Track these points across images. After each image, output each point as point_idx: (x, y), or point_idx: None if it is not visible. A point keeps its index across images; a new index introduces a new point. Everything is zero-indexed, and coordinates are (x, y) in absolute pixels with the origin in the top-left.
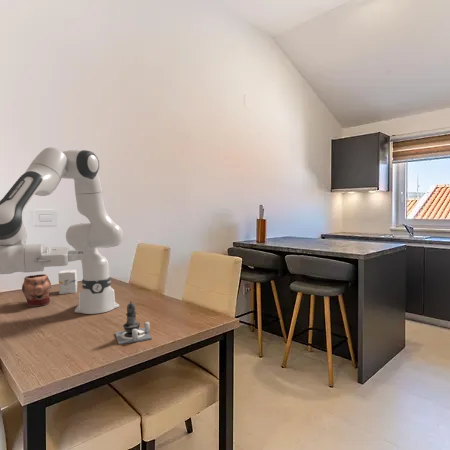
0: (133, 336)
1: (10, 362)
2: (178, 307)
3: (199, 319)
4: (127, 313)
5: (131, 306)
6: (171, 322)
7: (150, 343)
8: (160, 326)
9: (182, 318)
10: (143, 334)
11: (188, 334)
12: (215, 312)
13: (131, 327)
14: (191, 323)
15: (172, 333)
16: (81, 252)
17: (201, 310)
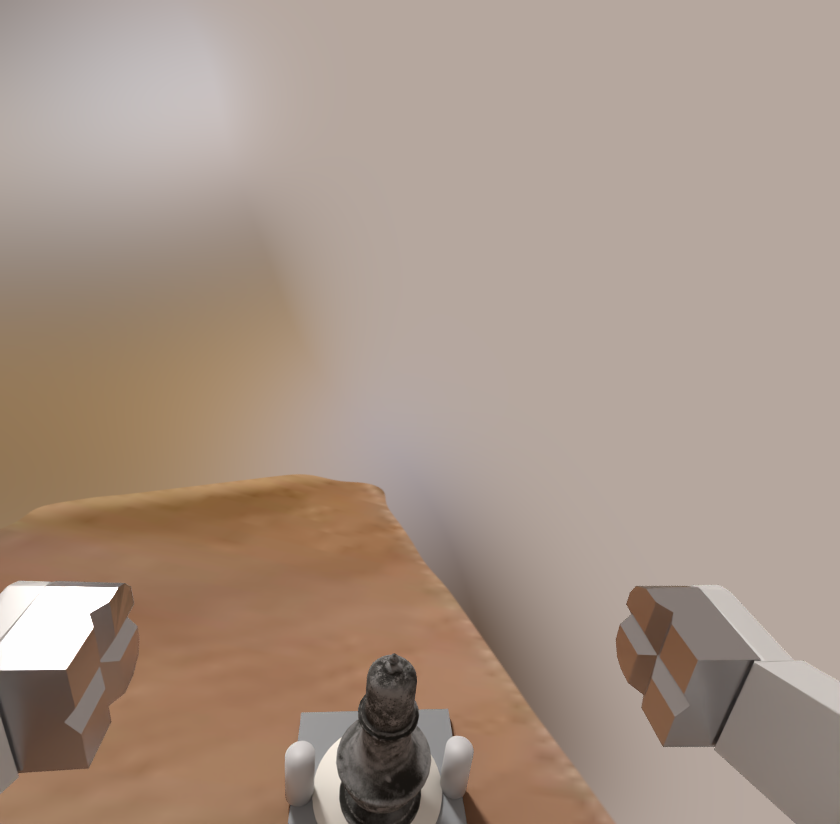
0: (466, 779)
1: None
2: (108, 555)
3: (309, 538)
4: (397, 727)
5: (415, 674)
6: (281, 613)
7: (492, 726)
8: (304, 656)
9: (261, 574)
10: None
11: (439, 595)
12: (271, 493)
13: (430, 760)
14: (335, 564)
15: (409, 634)
16: (115, 626)
17: (219, 513)
